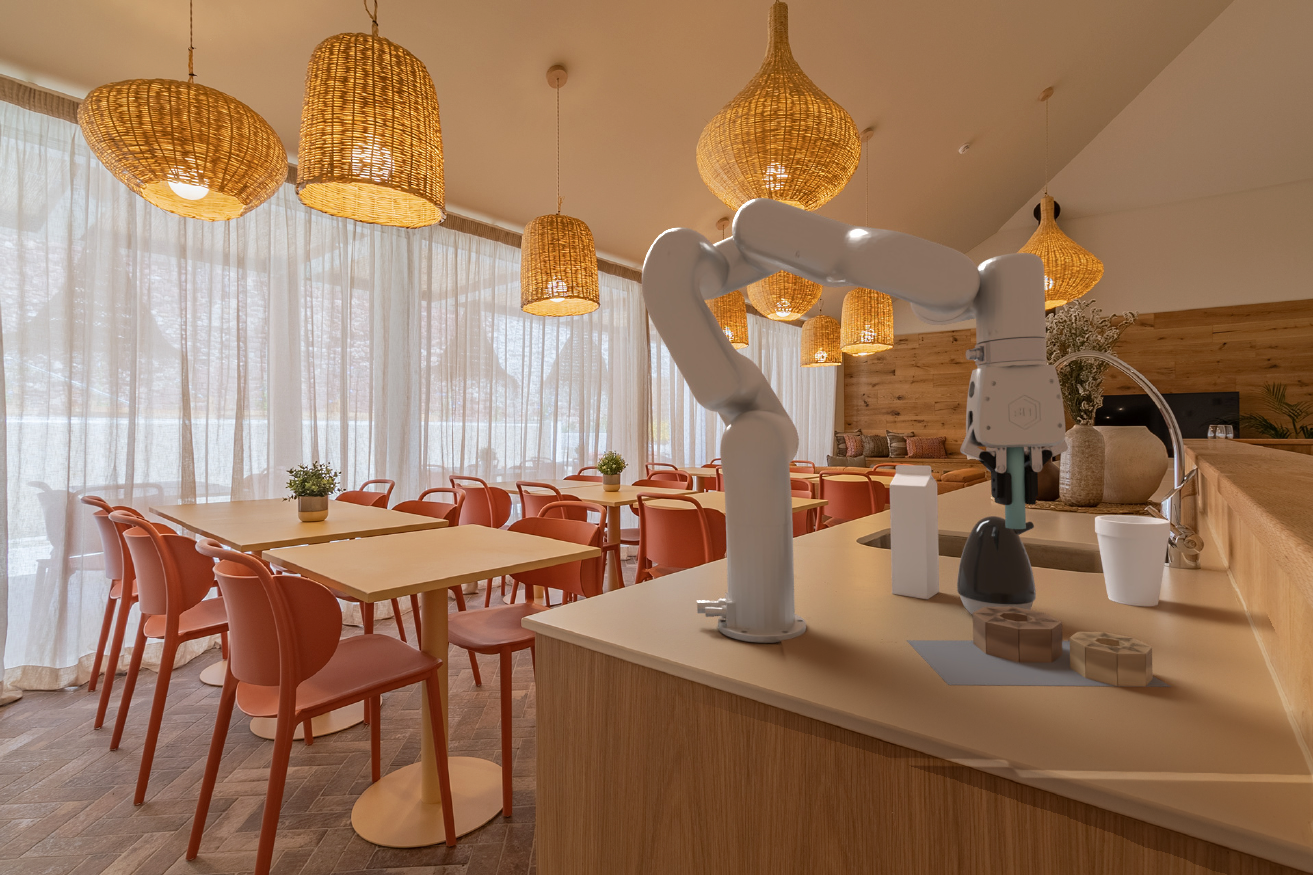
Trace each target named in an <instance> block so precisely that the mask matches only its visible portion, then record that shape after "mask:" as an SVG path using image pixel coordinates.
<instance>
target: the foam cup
mask: <svg viewBox="0 0 1313 875" xmlns="http://www.w3.org/2000/svg"><path fill="white" fill-rule="evenodd" d="M1094 531H1095V533H1096V536H1097V543H1098V548H1099V554H1100V558H1101V565H1102V566H1101V567H1102V572H1103V576H1104V582H1105V587H1106V588H1105V589H1106V594H1107V598H1108V599H1109V600H1110V601H1111V602H1112V601H1113V602H1114V603H1115V602H1116V603H1118V604H1122V605H1123V604H1124V605H1128V606H1134V607H1135V606H1136V607H1155V606H1158V605H1159V600H1160V595H1161V589H1162V583H1163V577H1164V568H1165V563H1166V556H1167V551H1168V550H1167V549H1168V545H1169V543H1168V542H1169V539H1170V537H1171V521H1170V520H1168V519H1165V518H1157V517H1154V516H1153V517H1151V516H1142V515H1140V516H1139V515H1124V514H1123V515H1122V514H1116V515H1115V514H1114V515H1113V514H1109V515H1108V514H1106V515H1098V516H1096V517H1094Z"/></svg>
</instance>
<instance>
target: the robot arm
mask: <svg viewBox="0 0 1313 875" xmlns="http://www.w3.org/2000/svg"><path fill="white" fill-rule="evenodd" d="M731 234H732V235H731V236H730V237H727V238H726V239H723V240H721V241H718V242H715V243H714V244H713V243H712V241H710V240H709V239H708V237H706V236H705V235H703V234H702V233H700V232H699V231H697V230H694V229H692V228H688V227H673V228H670V229H667V230H665V231H663V232H662V233H661V234H659V235H658V236H657V238H656V239H655V240H654V241H653V243H652V244H651V246H650V248H649V249H648V252H647V253H646V256H645V259H644V262H643V266H642V272H641V291H642V297H643V298H642V299H643V302H644V304H645V308H646V310H647V312H648V315H649V318H650V320H651V322H652V324H653V326H654V327H655V329H656V331H657V333H658V335H659V337H660V338H661V341H662V342H663V344H664V345H665V347H666V349H667V351H668V352H669V355H670V356H671V358H672V360H673V361H674V363H675V365H676V367H677V368H678V370H679V372H680V373H681V375H682V377H683V379H684V381H685V382H686V384H687V386H688V387H689V390H690V391H691V394H692V395H693V398H694V399H695V400H696V402H697V403H698V404H699V405H700V406H701V407H703V409H706V410H708V411H710V412H713V413H718V415H719V417H720V419H721V420H722V422H723V423H724V425H725V429H724V431H723V434H722V436H721V440H720V446H719V447H720V451H719V454H720V464H721V474H722V481H723V489H724V502H725V503H724V504H725V506H724V507H725V509H724V510H725V531H726V572H727V573H726V577H727V578H726V579H727V583H726V584H727V592H725V593H724V596H725V597H719V598H718V600H709V599H697V600H696V602H697V604H696V606H697V607H696V608H697V610H696V611H697V612H696V613H697V614H705V615H704V616H705V618H713V617H719V618H718V619H717V628H718V630H719V632H720V633H721V634H723V635H724V636H727V637H729V638H732V639H734V640H737V641H741V642H743V641H744V642H749V643H761V644H763V643H764V644H767V643H768V644H769V643H770V644H772V643H781V642H782V641H784V640H785V641H786V640H790V639H794V638H797V637H799V636H802V635H803V634H804V633H805V632H806V631H807V622H806V620H805V619H804V618H803V617H802V616H801V615H798V614H796V613H795V612H796V611H795V610H796V609H795V608H796V607H795V606H796V605H795V576H794V575H795V574H794V571H795V569H794V568H795V567H794V566H795V564H794V530H793V528H794V525H793V524H794V522H793V498H792V497H793V496H792V484H791V473H790V464H791V463H792V462H793V460H794V459H795V458H796V455H797V453H798V451H799V445H800V439H799V433H798V430H797V428H796V426H795V424H794V422H793V420H792V419H791V417H790V415H789V413H788V412H787V411H786V409H785V407H784V405H783V404H782V402H781V401H780V399H779V398H778V396H777V394H776V393H775V390H774V389H773V388H772V386H771V384H770V383H769V381H768V380H767V378H766V377H765V375H764V374H763V372H762V370H761V369H760V368H759V366H758V365H757V364H756V363H755V362H754V361H753V360H752V359H750V358H749V357H747V356H746V355H743V354H742V353H740V352H739V351H737V349H736V348H735V347H734V346H733V344H732V342H731V341H730V340H729V338H728V337H727V335H726V333H725V332H724V330H723V328H722V327H721V325H720V323H719V321H718V319H717V318H716V316H715V315H714V313H713V312H712V310H711V309H710V308H709V306H708V304H707V303H706V301H708V300H709V301H710V300H715V299H717V298H720V297H723V296H726V295H728V294H730V293H733V292H735V291H738V290H740V289H742V288H745V287H747V286H750V285H752V284H755V283H757V282H760V281H762V280H764V279H766V278H768V277H770V276H771V277H772V276H773V275H775V274H777V273H779V272H781V271H783V272H786V273H789V274H791V275H794V276H797V277H800V278H802V279H804V280H807V281H810V282H813V283H815V284H817V285H821V286H824V287H827V288H844V287H858V288H863V289H864V288H865V289H868V290H873V291H875V292H879V293H882V294H885V295H889V296H892V297H894V298H896V299H900V300H903V301H905V302H908V303H909V304H910V309H911V311H912V313H913V315H914V316H915V317H916V318H917V319H918V320H919V321H920V322H923V323H925V324H927V325H930V326H947V325H951V324H955V323H961V322H966V321H970V320H975V329H976V330H975V331H976V332H975V333H976V334H975V335H976V336H975V338H976V344H974V348H971V349H966V352H965V359H966V360H968V361H973V362H975V366H976V367H977V368H975V369H973V370H971V371H972V372H971V376H970V379H969V385H968V386H969V387H968V390H967V399H966V415H965V416H966V417H965V418H966V419H965V434H966V435H965V437H964V440H963V442H962V444H961V446H960V449H959V450H960V453H961V454H962V455H965V456H968V457H970V458H973V459H977V460H978V461H979V462H980V463H981V464H982V465H983V466H984V467H985V468H986V470H987V471H988V472H990V486H991V487H990V490H991V497H992V498H994V502H995V504H998V505H999V504H1000V505H1003V506H1005V505H1010V504H1012V482H1011V474H1010V473H1007V468H1006V447H1024V474H1025V505H1031V506H1034V505H1036V503H1037V497H1038V496H1039V477H1038V475H1039V474H1038V473H1040V472H1041V471H1043V470H1042V469H1043V467H1044V466H1045V465H1046V463H1047V462H1049V461H1050V460H1051V458H1053V457H1055V456H1058V455H1060V454H1062V453H1065V452H1066V451H1067V452H1068V450H1069V449H1068V448H1069V446H1068V444H1067V442H1066V420H1065V418H1066V417H1065V408H1064V402H1063V401H1064V400H1063V394H1062V390H1061V385H1060V380H1059V377H1058V373H1057V370H1056V366H1055V365H1054V364H1048V363H1047V359H1048V358H1047V329H1046V328H1047V326H1046V325H1047V324H1046V291H1045V290H1046V286H1045V282H1046V281H1045V265H1044V262H1043V260H1042V258H1041V257H1040V256H1039V255H1037V254H1035V253H1032V252H1030V253H1028V252H1014V253H1007V254H1002V255H997V256H994V257H991V258H988V259H986V260H983V261H982V262H981V263H980V264H978V266H977V265H976V263H975V262H974V261H973V260H972V259H971V258H970V257H969V256H967V255H966V254H964V253H963V252H962V251H959V250H957V249H955V248H952V247H949V246H947V245H943V244H941V243H939V242H934V241H932V240H929V239H925V238H923V237H919V236H915V235H914V234H910V233H907V232H901V231H897V230H891V229H885V228H874V227H869V226H861V225H854V224H849V223H847V222H843V221H840V220H836V219H833V218H830V217H826V216H823V215H821V214H818V213H815V212H811V211H809V210H807V209H802V208H800V207H797V206H794V205H791V204H788V203H785V202H782V201H779V200H776V199H771V198H767V197H758V198H757V197H756V198H753V199H750V200H748V201H746V202H745V203H743V205H741V206H740V208H739V209H738V210H737V211H736V214H735V215H734V218H733V221H732V226H731ZM979 447H981V448H983V447H985V449H986V450H985V449H981V448H979ZM1042 447H1043V448H1042Z"/></svg>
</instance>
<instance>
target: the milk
mask: <svg viewBox="0 0 1313 875" xmlns="http://www.w3.org/2000/svg"><path fill="white" fill-rule="evenodd" d="M938 501H939V500H938V483H937V480H936V479H935V478H934V476H933V475H932V467H931V465H914V464H913V465H912V464H911V465H910V464H909V465H908V464H907V465H905V464H904V465H903V464H897V465H896V466H895V474H894V476H893V478H892V480H891V482H890V483H889V506H890V507H889V514H890V520H889V521H890V553H891V554H890V556H891V558H890V559H891V560H890V562H891V566H890V567H891V594H892V595H897V596H904V597H911V598H916V599H922V600H929V599H930V598H933V597H934V596H935V595H936V594H938V593H940V562H939V561H940V560H939V555H940V553H939V510H938V508H939V506H938V505H939V504H938Z"/></svg>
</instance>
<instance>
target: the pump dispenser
mask: <svg viewBox="0 0 1313 875" xmlns="http://www.w3.org/2000/svg"><path fill="white" fill-rule="evenodd" d="M1034 528H1035V524H1034V523H1033V522H1032V521H1026V528H1025V529H1010V528H1006V525H1005V518H1004V517H1000V516H996V515H989V516H985V517H983V518H981V519H980V520H978V521H977V522H976V524H974V526H973V527H972V529H971V531H970V533H969V535H968V537H967V539H966V542H965V545H964V547H963V549H962V554H961V557H960V562H959V564H958V571H957V572H958V573H957V579H956V580H957V582H956V589H957V590H956V591H957V593H958V594H959V596H960V600H961V602H962V605H963V607H964V608H965V609H966V611H967V612H968V613H969V614H971V615H972V616H973V612H975V611H977V610H979V609H981V608H983V607H1017V608H1023V609H1028V610H1032V607H1033V604H1034V601H1035V600H1036V598H1037V595H1036V594H1037V593H1036V592H1037V591H1036V584H1035V577H1034V572H1033V569H1032V565H1031V561H1030V557H1029V555H1028V553H1027V550H1026V547H1025V545H1024V543H1023V541H1022V539H1021V536H1020V535H1022V534H1024V533H1026V532H1028V531H1031V530H1033V529H1034Z"/></svg>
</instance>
